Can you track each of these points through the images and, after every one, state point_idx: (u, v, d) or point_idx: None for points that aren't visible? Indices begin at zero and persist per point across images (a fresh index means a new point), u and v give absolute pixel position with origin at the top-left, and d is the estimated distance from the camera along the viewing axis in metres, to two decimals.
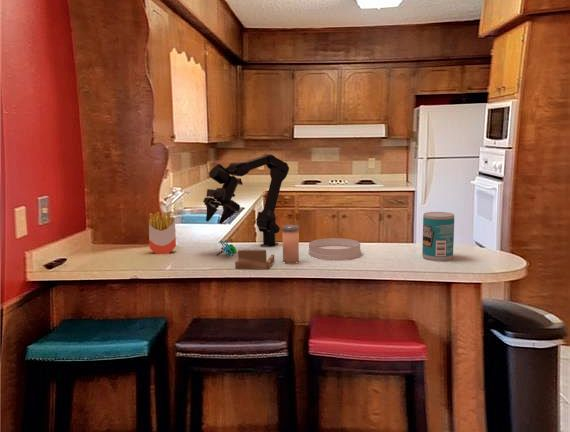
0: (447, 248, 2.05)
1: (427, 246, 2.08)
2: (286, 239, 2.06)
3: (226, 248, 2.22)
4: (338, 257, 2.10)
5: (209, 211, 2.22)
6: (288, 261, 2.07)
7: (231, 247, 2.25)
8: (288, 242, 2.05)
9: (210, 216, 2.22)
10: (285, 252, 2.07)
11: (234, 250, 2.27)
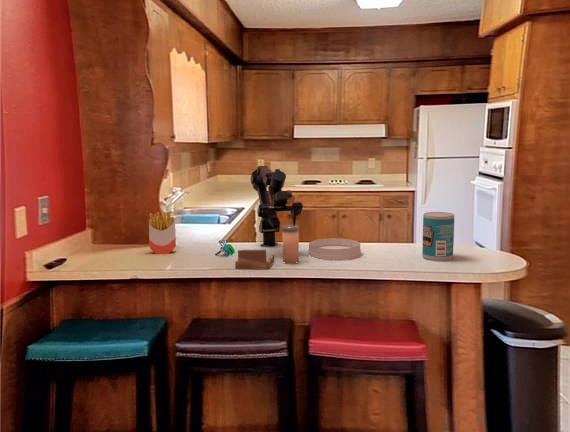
0: (447, 248, 2.05)
1: (427, 246, 2.08)
2: (286, 239, 2.06)
3: (225, 248, 2.22)
4: (338, 257, 2.10)
5: None
6: (288, 261, 2.07)
7: (230, 247, 2.25)
8: (288, 242, 2.05)
9: None
10: (285, 252, 2.07)
11: (232, 250, 2.28)
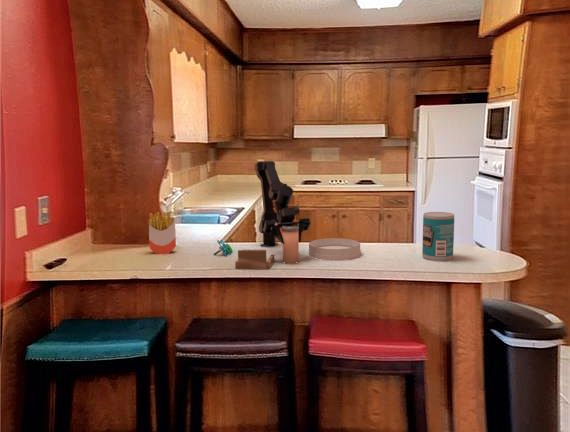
0: (447, 248, 2.05)
1: (427, 246, 2.08)
2: (287, 239, 2.06)
3: (223, 247, 2.23)
4: (338, 257, 2.10)
5: None
6: (288, 261, 2.07)
7: (228, 246, 2.26)
8: (288, 242, 2.05)
9: None
10: (285, 252, 2.07)
11: (230, 249, 2.28)
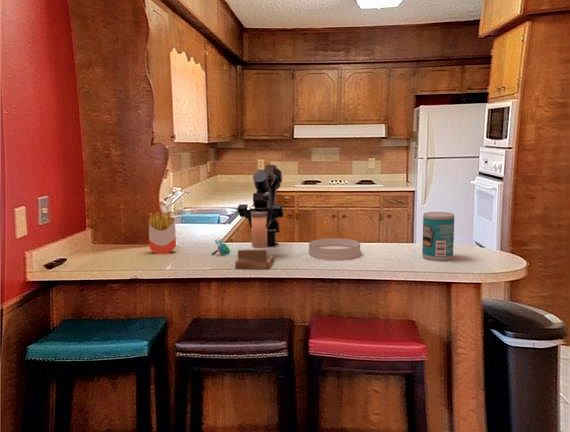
0: (447, 248, 2.05)
1: (427, 246, 2.08)
2: (252, 224, 2.13)
3: (221, 247, 2.23)
4: (338, 257, 2.10)
5: None
6: (254, 245, 2.14)
7: (225, 246, 2.26)
8: (254, 226, 2.12)
9: None
10: (252, 236, 2.14)
11: (228, 249, 2.29)
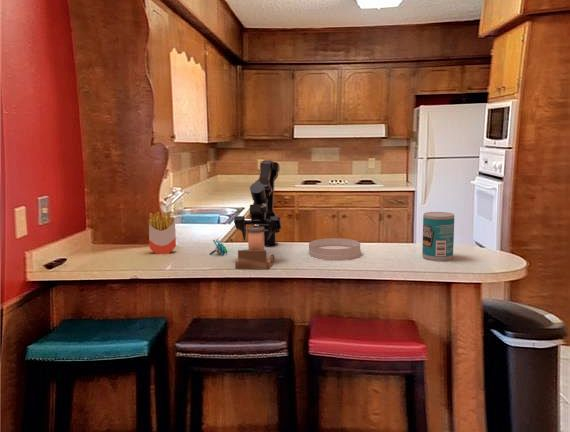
0: (447, 248, 2.05)
1: (427, 246, 2.08)
2: (249, 240, 2.06)
3: (220, 247, 2.24)
4: (338, 257, 2.10)
5: (244, 230, 2.09)
6: None
7: (223, 246, 2.27)
8: (251, 242, 2.06)
9: (245, 235, 2.09)
10: None
11: (225, 249, 2.30)
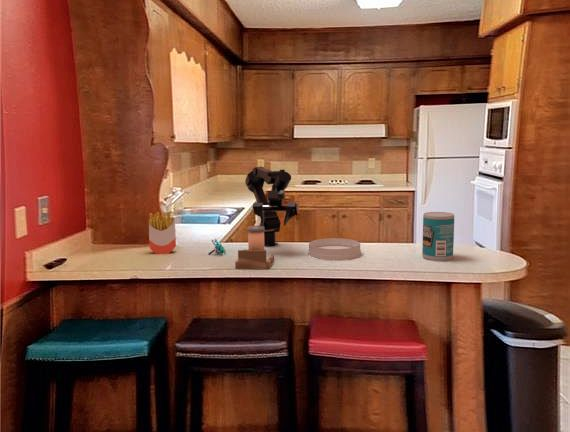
0: (447, 248, 2.05)
1: (427, 246, 2.08)
2: (249, 240, 2.06)
3: (218, 247, 2.24)
4: (338, 257, 2.10)
5: (262, 215, 2.19)
6: None
7: (221, 246, 2.27)
8: (251, 242, 2.06)
9: (263, 220, 2.19)
10: None
11: (223, 249, 2.30)
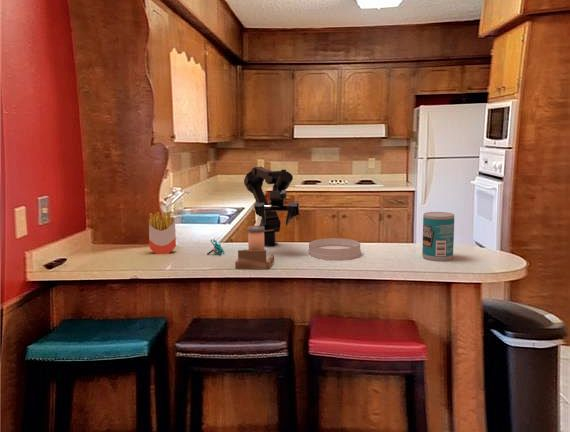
0: (447, 248, 2.05)
1: (427, 246, 2.08)
2: (249, 240, 2.06)
3: (217, 247, 2.24)
4: (338, 257, 2.10)
5: (264, 215, 2.19)
6: None
7: (220, 246, 2.28)
8: (251, 242, 2.06)
9: (265, 220, 2.19)
10: None
11: None
